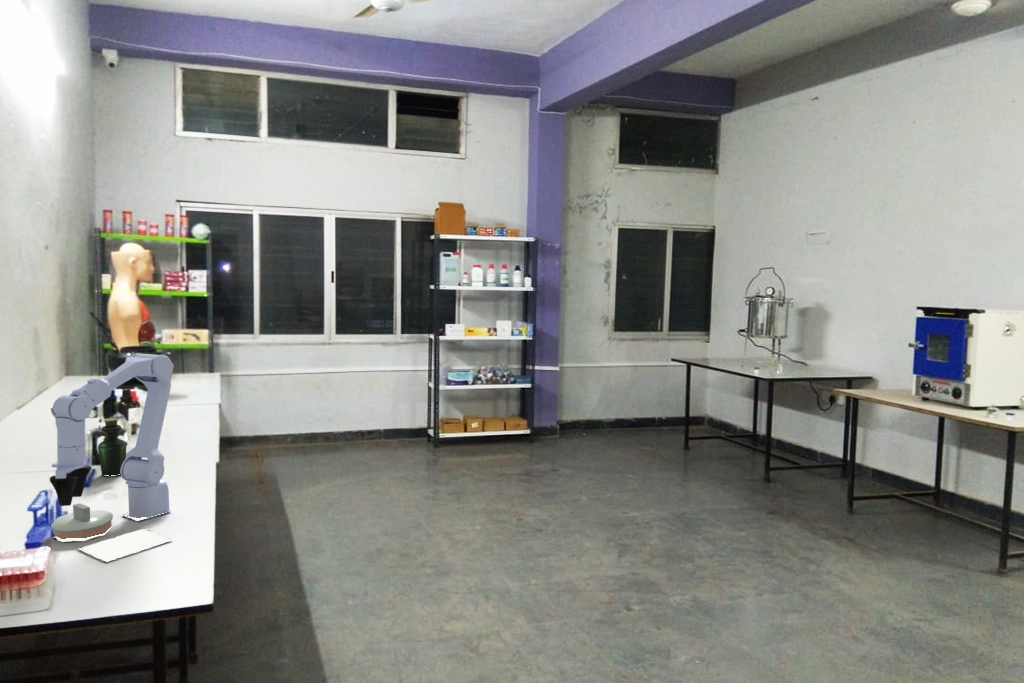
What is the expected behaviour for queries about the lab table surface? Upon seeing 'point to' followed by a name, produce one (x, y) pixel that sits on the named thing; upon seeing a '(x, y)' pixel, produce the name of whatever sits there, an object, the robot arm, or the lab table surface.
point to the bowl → (83, 532)
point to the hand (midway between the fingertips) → (71, 500)
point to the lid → (81, 519)
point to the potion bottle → (111, 449)
